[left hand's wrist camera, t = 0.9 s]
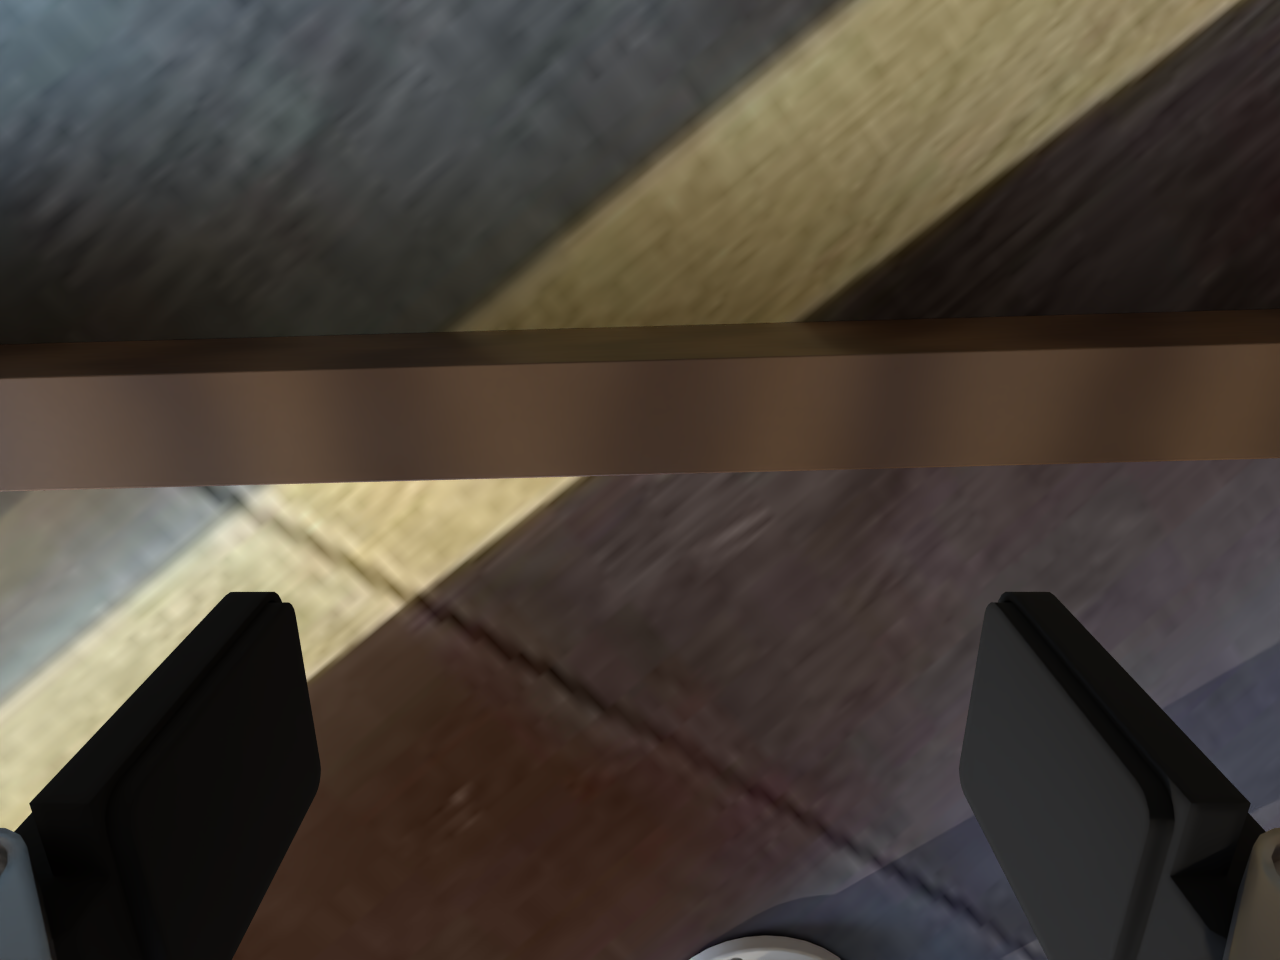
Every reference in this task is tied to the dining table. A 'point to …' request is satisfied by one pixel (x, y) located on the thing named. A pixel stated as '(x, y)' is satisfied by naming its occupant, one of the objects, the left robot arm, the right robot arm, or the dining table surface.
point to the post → (641, 400)
